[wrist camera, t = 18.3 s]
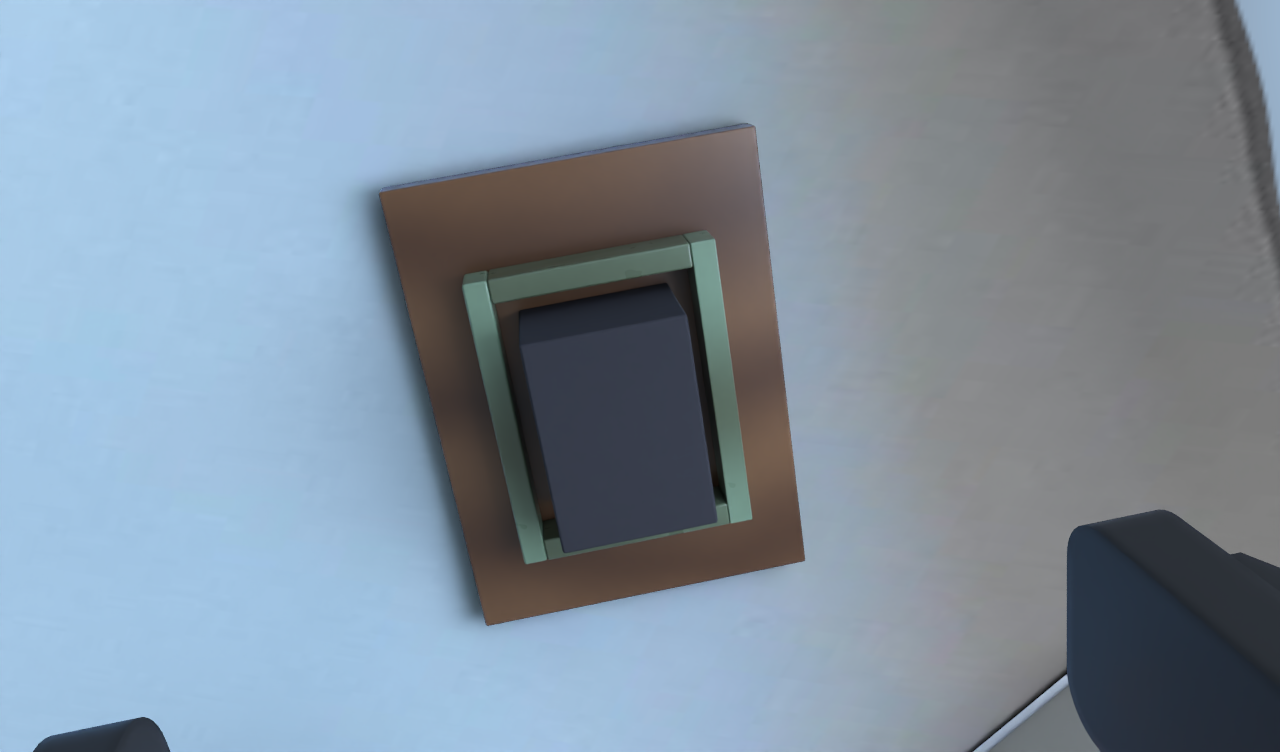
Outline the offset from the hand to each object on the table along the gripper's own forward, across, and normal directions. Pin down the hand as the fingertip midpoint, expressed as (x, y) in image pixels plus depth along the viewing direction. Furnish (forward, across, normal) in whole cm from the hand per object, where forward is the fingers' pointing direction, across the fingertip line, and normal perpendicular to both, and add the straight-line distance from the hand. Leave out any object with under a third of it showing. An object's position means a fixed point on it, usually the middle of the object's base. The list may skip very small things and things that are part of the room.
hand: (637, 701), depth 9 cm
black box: (+24, -1, +7) cm, 25 cm away
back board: (+25, -1, +7) cm, 26 cm away
